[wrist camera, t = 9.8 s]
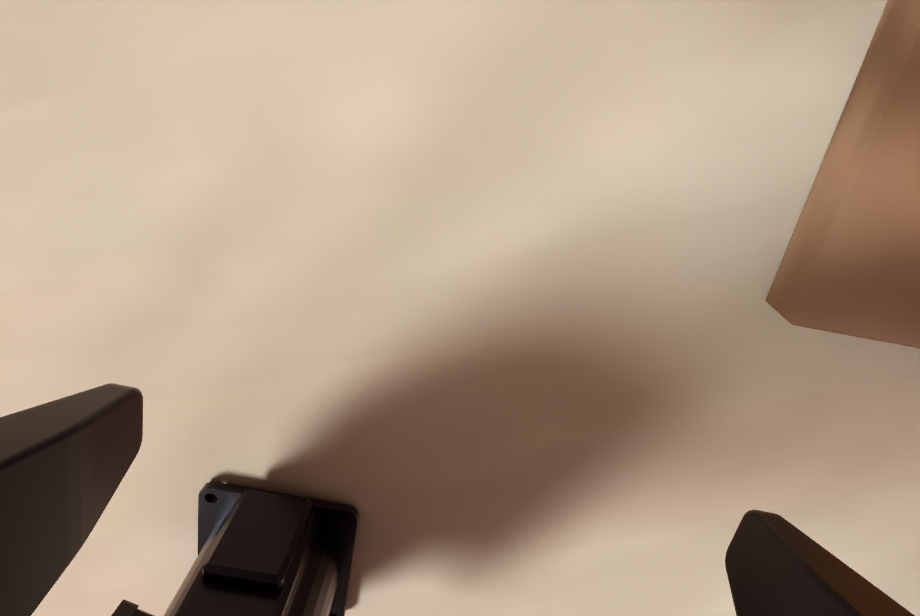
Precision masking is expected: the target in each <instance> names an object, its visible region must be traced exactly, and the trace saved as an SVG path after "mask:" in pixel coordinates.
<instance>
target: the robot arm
mask: <svg viewBox="0 0 920 616" xmlns="http://www.w3.org/2000/svg"><path fill="white" fill-rule="evenodd" d="M142 432H143V396H142V393H141V391H140V390H139V389H137V388H134V387H129V386H124V385H119V384H106V385H103V386H100V387H96V388H93V389H90V390H87V391H84V392H80V393H77V394H74V395H71V396H68V397H64V398H61V399H58V400H55V401H52V402H48V403H45V404H42V405H39V406H36V407H32V408H29V409H26V410H23V411H20V412H16V413H13V414H10V415H7V416H4V417H0V616H31V615H32V613H33V612H34V611H35V609H36V608H37V607H38V605H39V604H40V603H41V601H42V600H43V599H44V597H45V596H46V595H47V593H48V592H49V591H50V589H51V588H52V587H53V585H54V584H55V582H56V581H57V580H58V578H59V577H60V576H61V574H62V573H63V572H64V570H65V569H66V568H67V566H68V565H69V564H70V562H71V561H72V560H73V558H74V557H75V555H76V554H77V553H78V551H79V550H80V548H81V547H82V546H83V544H84V542H85V541H86V539H87V538H88V536H89V534H90V533H91V531H92V530H93V528H94V526H95V525H96V523H97V521H98V519H99V518H100V516H101V514H102V513H103V511H104V509H105V508H106V506H107V504H108V503H109V501H110V499H111V498H112V496H113V494H114V492H115V491H116V489H117V487H118V486H119V484H120V482H121V481H122V479H123V477H124V476H125V474H126V472H127V470H128V469H129V467H130V465H131V464H132V462H133V460H134V459H135V457H136V455H137V453H138V451H139V449H140V446H141V442H142ZM210 493H212V494H214V495H215V496H216V497H214V496H212V495H211V494H210ZM343 516H346V517H349V518H350V519H345V518H343ZM358 522H359V512H358V510H357V509H356V508H355V507H353V506H350V505H346V504H340V503H334V502H329V501H323V500H317V499H311V498H305V497H300V496H294V495H288V494H282V493H276V492H270V491H265V490H259V489H253V488H247V487H241V486H235V485H230V484H224V483H218V482H209V483H206V484H205V485H204V487H203V488H202V490H201V491H200V493H199V506H198V557H197V559H196V560H195V562H194V564H193V566H192V567H191V569H190V571H189V573H188V574H187V576H186V578H185V580H184V581H183V583H182V585H181V587H180V588H179V590H178V592H177V593H176V595H175V597H174V599H173V600H172V602H171V604H170V606H169V607H168V609H167V611H166V613H165V614H164V616H344V615H345V611H346V605H347V598H348V591H349V584H350V577H351V570H352V563H353V557H354V550H355V543H356V536H357V529H358ZM725 565H726V571H727V575H728V580H729V584H730V589H731V593H732V597H733V602H734V606H735V611H736V615H737V616H914V615H913V614H912V613H910V612H909V611H908V610H906V609H905V608H904V607H902V606H901V605H900V604H898V603H897V602H896V601H894V600H893V599H892V598H890V597H889V596H888V595H886V594H885V593H884V592H882V591H881V590H879V589H878V588H877V587H875V586H874V585H873V584H871V583H870V582H869V581H867V580H866V579H865V578H863V577H862V576H861V575H859V574H858V573H857V572H855V571H854V570H853V569H851V568H850V567H849V566H847V565H846V564H844V563H843V562H842V561H840V560H839V559H838V558H836V557H835V556H834V555H832V554H831V553H830V552H828V551H827V550H826V549H824V548H823V547H822V546H820V545H819V544H818V543H816V542H815V541H814V540H812V539H811V538H809V537H808V536H807V535H805V534H804V533H803V532H801V531H800V530H799V529H797V528H796V527H795V526H793V525H792V524H791V523H789V522H788V521H787V520H785V519H784V518H783V517H781V516H780V515H777V514H774V513H769V512H764V511H759V510H750V511H748V512H747V513H746V514H745V515H744V516H743V518H742V520H741V522H740V524H739V526H738V528H737V530H736V533H735V535H734V537H733V539H732V541H731V543H730V545H729V547H728V549H727V552H726V558H725ZM138 607H139V606H138V605H136V604H134V603H131V602H129V601H126V600H124V599H123V601H122V602H121V603H120V605H119V606H118V607H117V609H116V610H115V612H114V613H113V614H112V616H154V615H152V614H149V613H147V612H145V611H142V610H140V609H138Z"/></svg>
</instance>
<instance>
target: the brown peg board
mask: <svg viewBox="0 0 920 616" xmlns="http://www.w3.org/2000/svg"><path fill="white" fill-rule="evenodd" d="M766 301H767V302H768V303H769V304H770V305H771V306H772V307H773V308H774V309H775V310H776V311H778V312H779V313H780V314H781V315H782V316H783V317H784V318H785V319H786V320H788V321H789V322H790V323H791V324H792V325H796V326H802V327H807V328H813V329H818V330H824V331H829V332H834V333H840V334H845V335H851V336H856V337H862V338H867V339H872V340H878V341H883V342H889V343H894V344H900V345H905V346H910V347H916V348H920V0H888V2H887V5H886V7H885V10H884V12H883V15H882V17H881V19H880V22H879V24H878V27H877V29H876V32H875V34H874V37H873V39H872V41H871V44H870V46H869V49H868V51H867V54H866V56H865V59H864V61H863V64H862V66H861V68H860V71H859V73H858V76H857V78H856V81H855V83H854V86H853V88H852V91H851V93H850V95H849V98H848V100H847V103H846V105H845V108H844V110H843V113H842V115H841V117H840V120H839V122H838V125H837V127H836V130H835V132H834V135H833V137H832V140H831V142H830V144H829V147H828V149H827V152H826V154H825V157H824V159H823V162H822V164H821V166H820V169H819V171H818V174H817V176H816V179H815V181H814V184H813V186H812V189H811V191H810V193H809V196H808V198H807V201H806V203H805V206H804V208H803V211H802V213H801V216H800V218H799V220H798V223H797V225H796V228H795V230H794V233H793V235H792V238H791V240H790V242H789V245H788V247H787V250H786V252H785V255H784V257H783V260H782V262H781V265H780V267H779V269H778V272H777V274H776V277H775V279H774V282H773V284H772V287H771V289H770V291H769V294H768V296H767V299H766Z"/></svg>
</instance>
